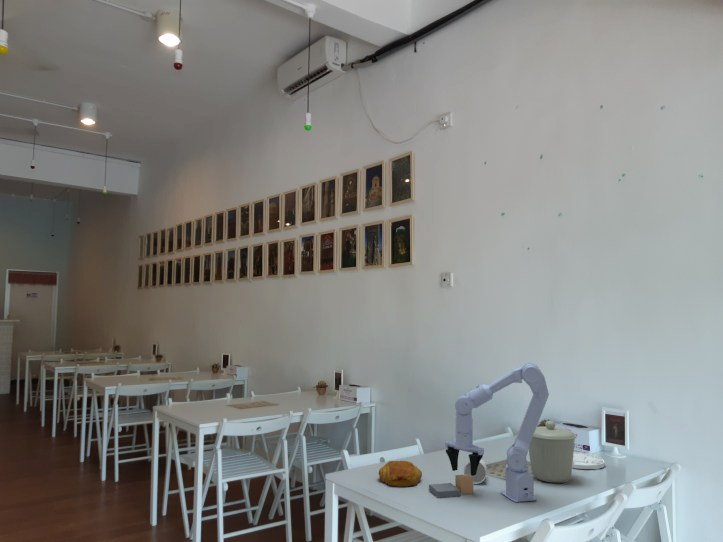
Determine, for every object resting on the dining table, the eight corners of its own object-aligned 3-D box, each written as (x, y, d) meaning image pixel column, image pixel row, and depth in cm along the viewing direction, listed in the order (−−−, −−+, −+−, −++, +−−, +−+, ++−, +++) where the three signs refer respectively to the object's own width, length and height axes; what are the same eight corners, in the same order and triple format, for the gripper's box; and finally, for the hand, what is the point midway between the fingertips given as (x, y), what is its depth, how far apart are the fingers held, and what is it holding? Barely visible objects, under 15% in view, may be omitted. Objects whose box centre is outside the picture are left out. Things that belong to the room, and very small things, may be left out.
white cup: (491, 475, 200) (489, 481, 191) (471, 480, 202) (467, 486, 193) (484, 453, 202) (481, 458, 193) (464, 459, 204) (460, 463, 195)
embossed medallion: (542, 462, 224) (542, 455, 225) (570, 455, 236) (569, 448, 236) (587, 474, 208) (587, 466, 209) (614, 465, 220) (614, 458, 220)
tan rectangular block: (473, 493, 183) (473, 478, 183) (461, 494, 181) (461, 478, 182) (467, 489, 187) (467, 474, 187) (455, 490, 186) (455, 475, 186)
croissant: (381, 481, 202) (378, 459, 203) (422, 477, 201) (419, 454, 202) (378, 492, 188) (375, 468, 189) (422, 488, 187) (419, 464, 188)
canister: (582, 477, 202) (581, 420, 204) (570, 489, 187) (569, 427, 189) (534, 469, 212) (533, 414, 214) (519, 480, 198) (518, 421, 199)
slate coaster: (460, 496, 179) (460, 490, 179) (437, 498, 177) (438, 491, 177) (450, 488, 187) (450, 482, 187) (428, 490, 185) (428, 484, 185)
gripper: (488, 433, 184) (488, 474, 182) (453, 427, 194) (453, 466, 193) (477, 436, 179) (477, 479, 178) (441, 429, 189) (441, 469, 188)
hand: (464, 472), depth 185 cm, fingers open, 7 cm apart
